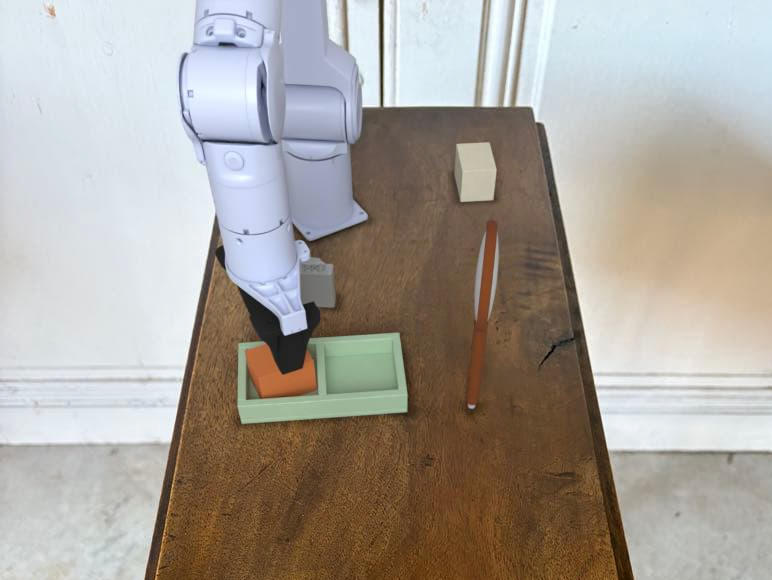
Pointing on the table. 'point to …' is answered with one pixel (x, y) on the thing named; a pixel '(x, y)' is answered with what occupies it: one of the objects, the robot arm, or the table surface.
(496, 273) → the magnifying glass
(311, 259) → the lighter
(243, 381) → the tray
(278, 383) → the orange block
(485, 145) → the cream rectangular block
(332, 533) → the table surface
